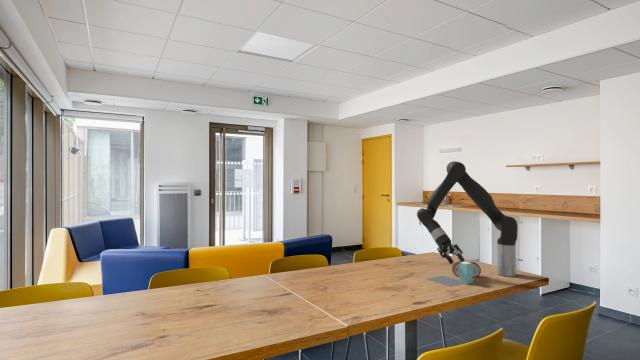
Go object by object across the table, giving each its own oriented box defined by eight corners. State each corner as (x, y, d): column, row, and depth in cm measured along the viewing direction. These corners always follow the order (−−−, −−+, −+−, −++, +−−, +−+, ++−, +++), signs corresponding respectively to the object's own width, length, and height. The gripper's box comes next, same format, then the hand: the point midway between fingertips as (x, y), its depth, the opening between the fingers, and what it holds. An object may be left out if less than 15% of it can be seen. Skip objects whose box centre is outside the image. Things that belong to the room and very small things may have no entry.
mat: (442, 276, 202) (442, 275, 202) (468, 283, 187) (468, 282, 187) (424, 279, 195) (424, 278, 195) (450, 287, 180) (450, 286, 180)
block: (465, 280, 191) (465, 261, 191) (472, 283, 187) (472, 262, 187) (459, 282, 188) (459, 262, 188) (466, 284, 184) (466, 263, 185)
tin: (479, 276, 202) (479, 261, 202) (481, 278, 199) (481, 262, 199) (451, 276, 204) (451, 260, 204) (453, 277, 200) (453, 262, 201)
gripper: (435, 234, 196) (452, 259, 186) (453, 232, 203) (471, 256, 193) (427, 242, 201) (444, 267, 191) (445, 241, 208) (462, 265, 198)
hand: (457, 262), depth 192 cm, fingers open, 8 cm apart
